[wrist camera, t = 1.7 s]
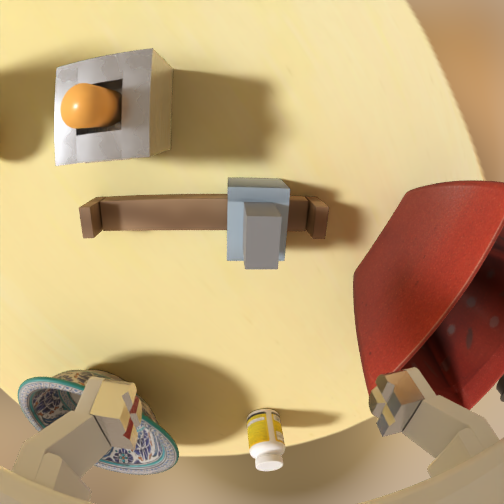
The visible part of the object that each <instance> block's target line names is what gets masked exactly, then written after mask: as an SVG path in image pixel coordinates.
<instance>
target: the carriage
mask: <svg viewBox="0 0 504 504" xmlns="http://www.w3.org/2000/svg"><path fill="white" fill-rule="evenodd" d="M289 198H290V188H289V187H288V186H287V185H286V184H285V183H284V182H283V181H282V180H281V179H271V178H229V177H228V209H227V261H244V265H245V269H278V261H284V259H285V248H286V236H287V224H288V212H289Z"/></svg>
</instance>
